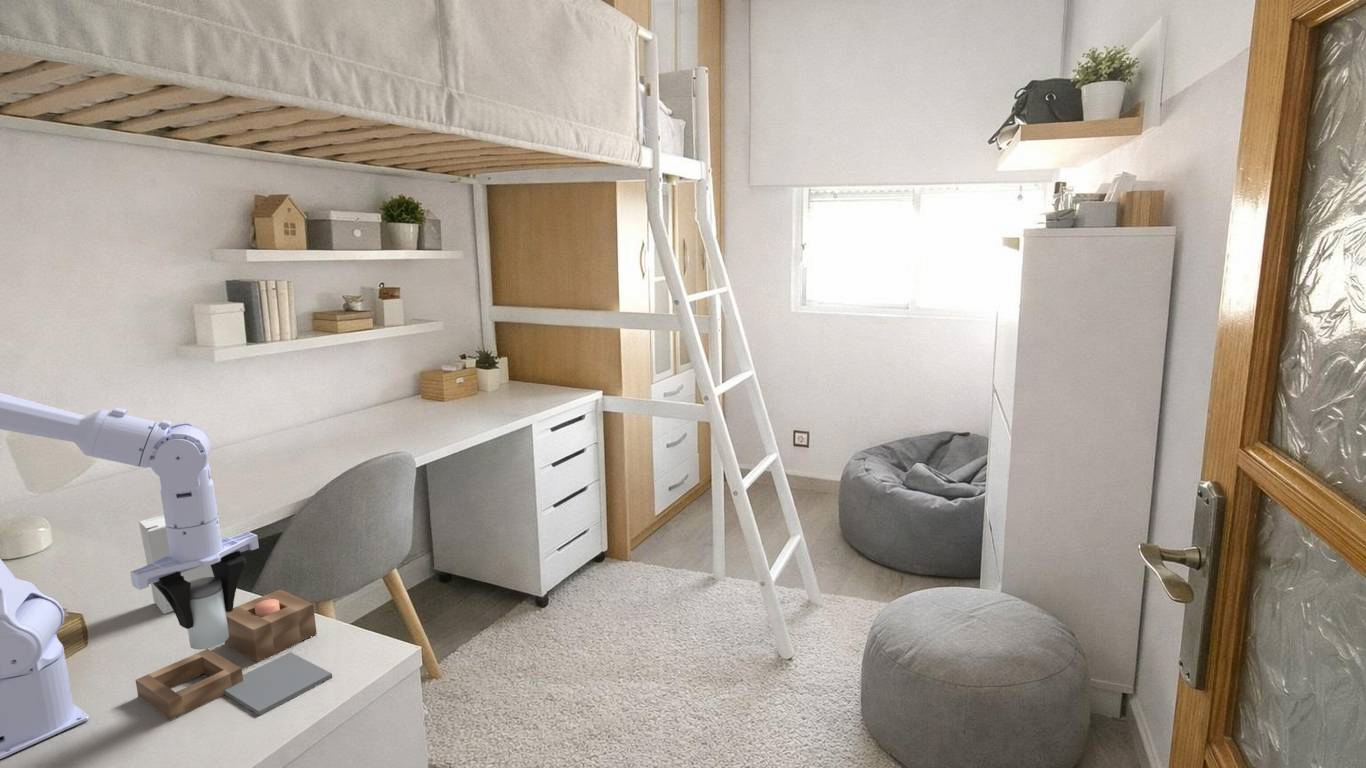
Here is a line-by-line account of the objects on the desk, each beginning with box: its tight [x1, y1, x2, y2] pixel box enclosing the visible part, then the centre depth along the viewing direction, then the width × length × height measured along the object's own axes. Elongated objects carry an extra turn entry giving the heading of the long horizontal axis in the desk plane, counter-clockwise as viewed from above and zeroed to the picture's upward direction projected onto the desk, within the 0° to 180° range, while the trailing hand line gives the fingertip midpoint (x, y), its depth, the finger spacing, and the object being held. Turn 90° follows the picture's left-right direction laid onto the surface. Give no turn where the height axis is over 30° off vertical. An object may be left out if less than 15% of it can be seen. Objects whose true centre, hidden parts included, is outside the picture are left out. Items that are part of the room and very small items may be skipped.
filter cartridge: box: [187, 577, 229, 651], centre depth 101 cm, size 4×4×8 cm
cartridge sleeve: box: [135, 648, 244, 721], centre depth 102 cm, size 9×9×2 cm
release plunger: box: [255, 599, 280, 618], centre depth 114 cm, size 3×3×5 cm
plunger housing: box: [223, 589, 317, 663], centre depth 115 cm, size 9×9×5 cm
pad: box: [224, 651, 333, 716], centre depth 104 cm, size 10×10×1 cm
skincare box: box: [138, 514, 214, 615], centre depth 126 cm, size 8×6×15 cm
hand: (206, 617), depth 101 cm, fingers closed on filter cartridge, 4 cm apart
